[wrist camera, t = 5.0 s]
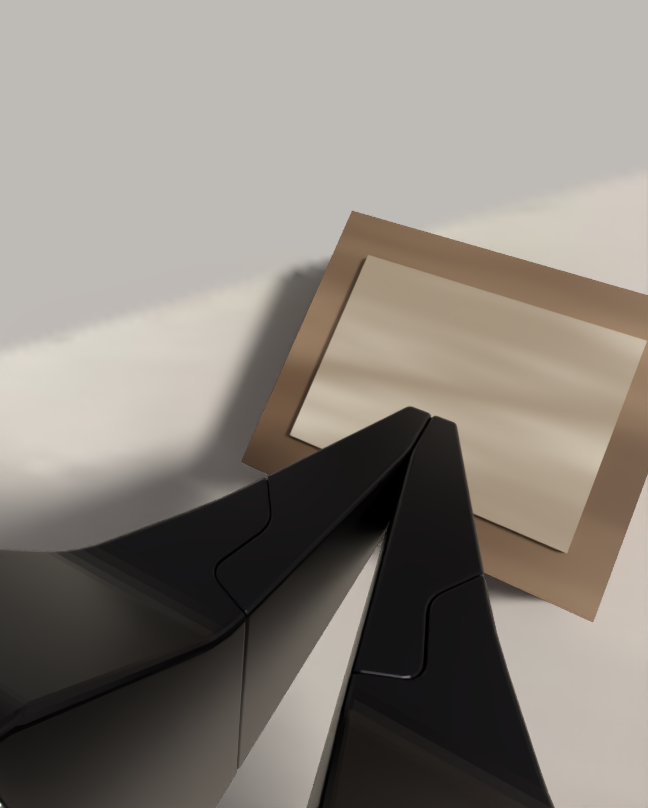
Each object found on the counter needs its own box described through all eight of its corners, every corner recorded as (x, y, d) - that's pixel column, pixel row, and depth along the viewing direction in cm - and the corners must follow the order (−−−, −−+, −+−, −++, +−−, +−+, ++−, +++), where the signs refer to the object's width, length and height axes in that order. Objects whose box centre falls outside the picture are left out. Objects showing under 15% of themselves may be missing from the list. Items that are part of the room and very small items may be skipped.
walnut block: (595, 624, 11) (711, 309, 12) (238, 461, 14) (350, 206, 15) (563, 599, 14) (657, 349, 15) (275, 469, 17) (367, 259, 18)
